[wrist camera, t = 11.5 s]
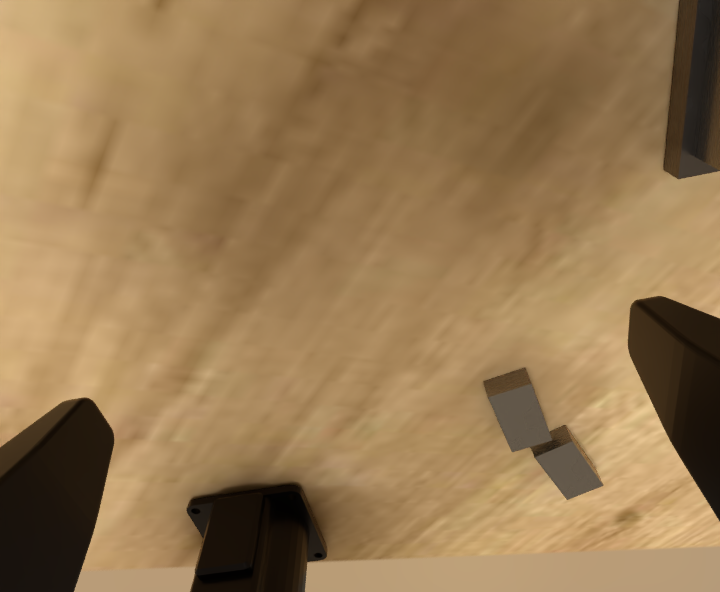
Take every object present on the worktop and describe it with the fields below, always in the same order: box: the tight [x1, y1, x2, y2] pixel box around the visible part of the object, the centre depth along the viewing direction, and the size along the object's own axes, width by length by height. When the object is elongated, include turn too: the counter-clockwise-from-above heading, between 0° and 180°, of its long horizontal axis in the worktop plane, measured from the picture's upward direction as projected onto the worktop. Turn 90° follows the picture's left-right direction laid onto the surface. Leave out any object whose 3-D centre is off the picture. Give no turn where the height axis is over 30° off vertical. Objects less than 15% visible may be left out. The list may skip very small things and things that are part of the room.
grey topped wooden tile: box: [483, 368, 552, 452], centre depth 25 cm, size 4×2×1 cm, turn 25°
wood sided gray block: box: [531, 425, 603, 500], centre depth 27 cm, size 4×2×1 cm, turn 35°
